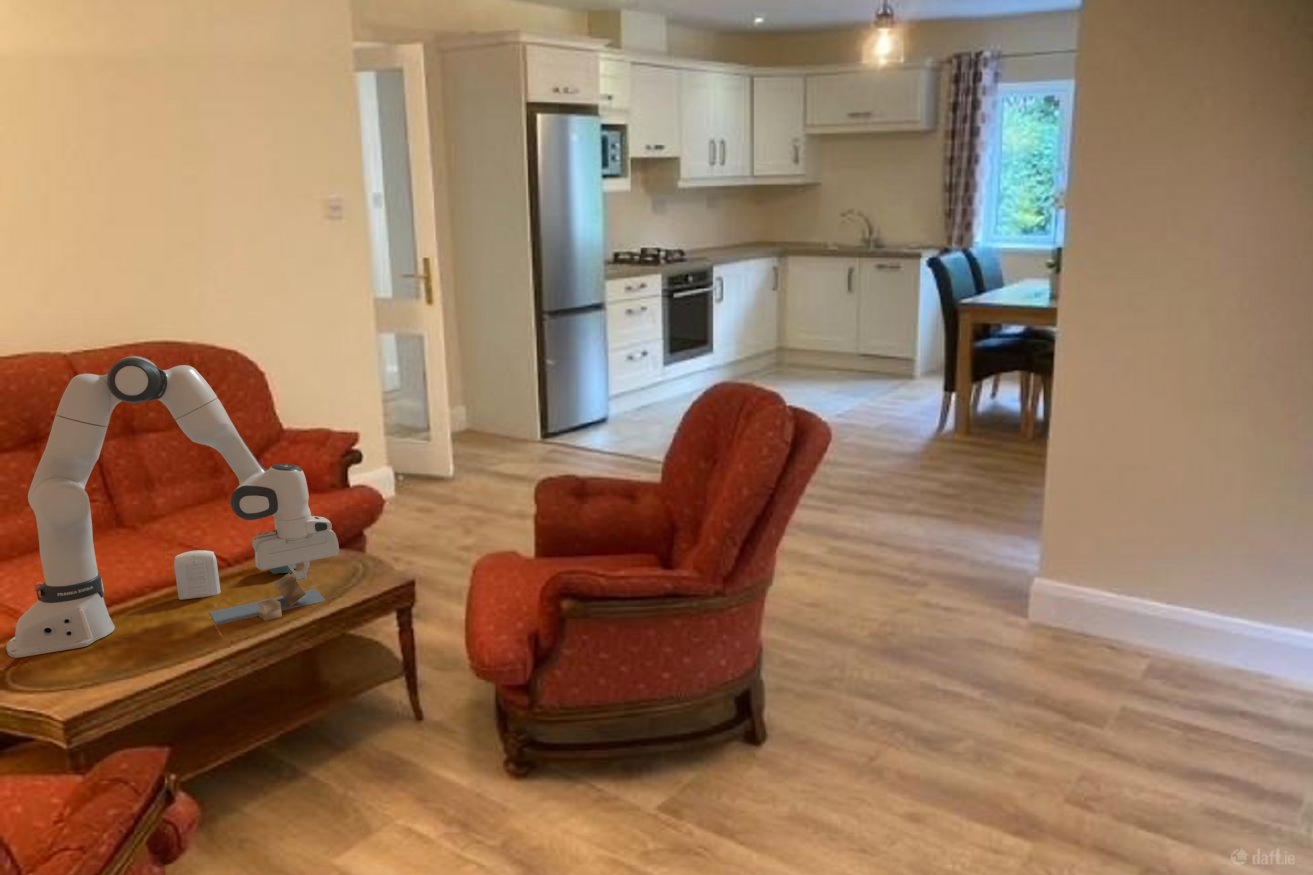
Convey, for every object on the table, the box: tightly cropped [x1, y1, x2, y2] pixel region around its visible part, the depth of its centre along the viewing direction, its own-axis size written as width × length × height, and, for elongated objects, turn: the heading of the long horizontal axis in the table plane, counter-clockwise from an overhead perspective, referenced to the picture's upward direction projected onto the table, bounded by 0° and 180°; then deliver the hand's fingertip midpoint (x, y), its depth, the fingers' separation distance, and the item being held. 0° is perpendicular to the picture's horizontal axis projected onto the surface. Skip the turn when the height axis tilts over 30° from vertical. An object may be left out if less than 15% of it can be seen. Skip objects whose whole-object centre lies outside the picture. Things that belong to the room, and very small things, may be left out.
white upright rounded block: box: [173, 549, 221, 600], centre depth 269 cm, size 10×4×12 cm, turn 107°
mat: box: [209, 588, 327, 626], centre depth 259 cm, size 26×11×1 cm, turn 122°
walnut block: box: [273, 573, 306, 606], centre depth 261 cm, size 4×8×5 cm, turn 33°
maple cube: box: [258, 598, 283, 622], centre depth 251 cm, size 4×4×4 cm
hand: (300, 578), depth 262 cm, fingers closed
